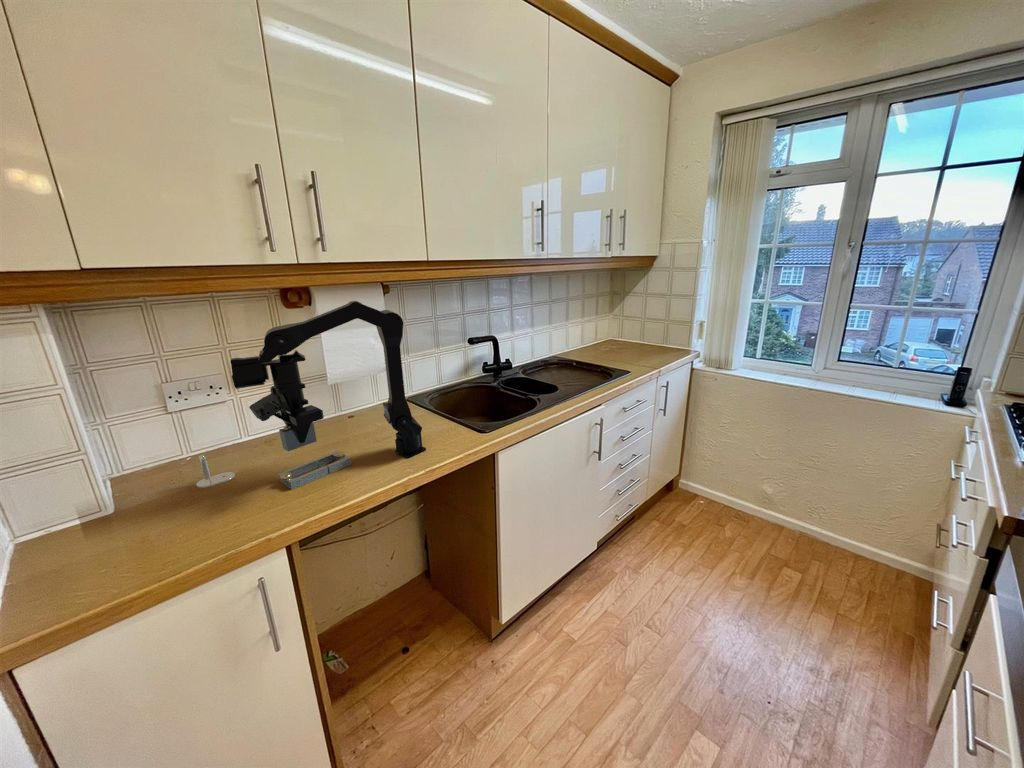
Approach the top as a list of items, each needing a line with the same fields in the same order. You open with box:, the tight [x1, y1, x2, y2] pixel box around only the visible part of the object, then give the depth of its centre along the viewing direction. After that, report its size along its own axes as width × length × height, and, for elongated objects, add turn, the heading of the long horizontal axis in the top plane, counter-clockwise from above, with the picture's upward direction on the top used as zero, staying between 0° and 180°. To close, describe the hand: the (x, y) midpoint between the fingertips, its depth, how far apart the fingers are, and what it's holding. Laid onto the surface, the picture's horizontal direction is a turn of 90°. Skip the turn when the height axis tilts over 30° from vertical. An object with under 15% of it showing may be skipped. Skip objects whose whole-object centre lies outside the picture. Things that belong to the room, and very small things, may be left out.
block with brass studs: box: [278, 422, 318, 452], centre depth 101 cm, size 7×3×6 cm, turn 140°
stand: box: [196, 454, 236, 489], centre depth 103 cm, size 8×5×8 cm
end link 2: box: [315, 450, 352, 474], centre depth 110 cm, size 6×7×3 cm
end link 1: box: [277, 459, 329, 490], centre depth 104 cm, size 10×7×3 cm
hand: (299, 441), depth 102 cm, fingers closed on block with brass studs, 3 cm apart
